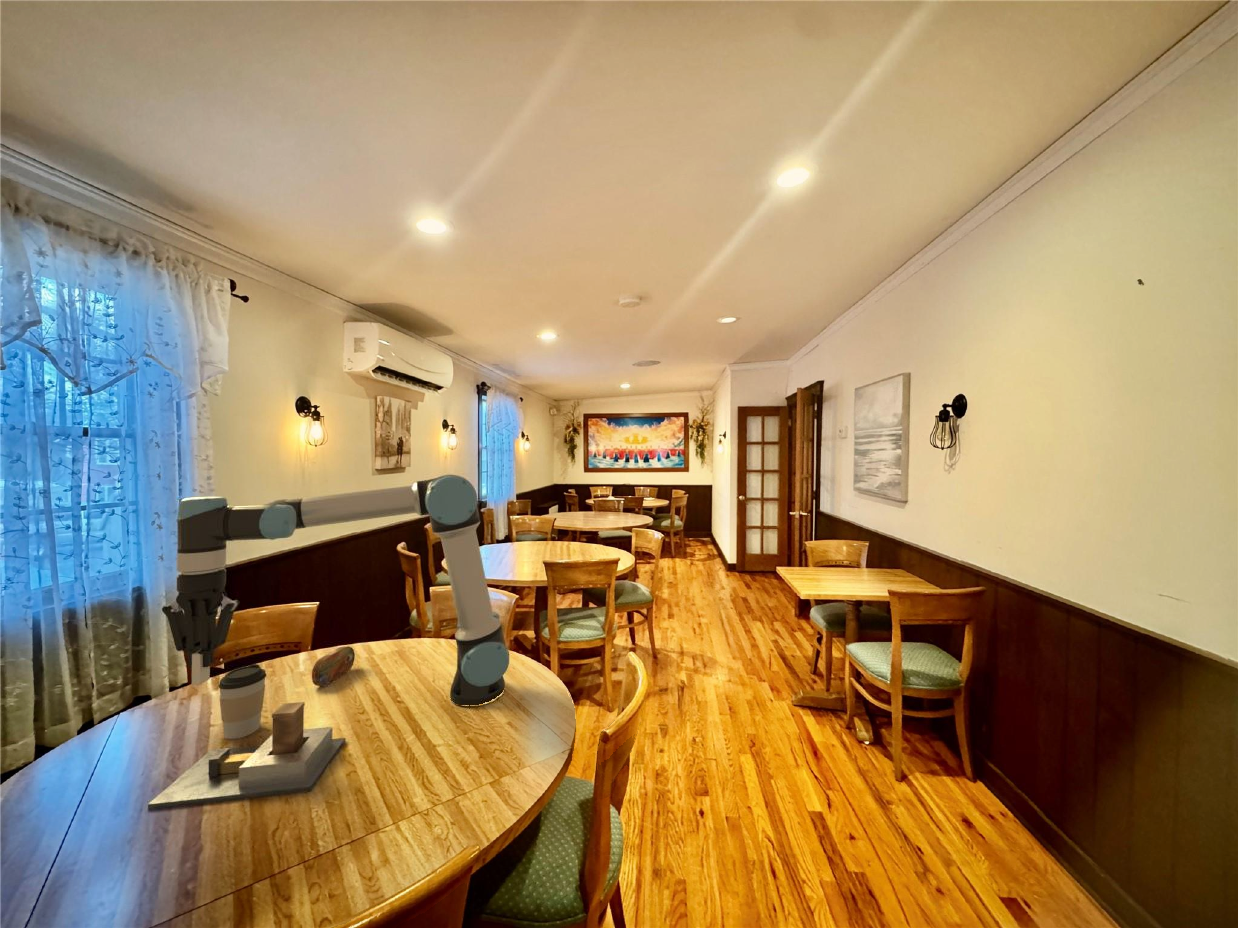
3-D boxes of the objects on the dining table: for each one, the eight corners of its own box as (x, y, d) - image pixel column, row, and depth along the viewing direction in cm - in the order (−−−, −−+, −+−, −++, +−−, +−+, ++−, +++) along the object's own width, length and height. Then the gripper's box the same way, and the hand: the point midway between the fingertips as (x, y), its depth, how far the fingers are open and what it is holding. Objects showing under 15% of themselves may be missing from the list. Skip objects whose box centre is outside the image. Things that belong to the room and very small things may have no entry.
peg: (303, 756, 97) (304, 701, 97) (293, 769, 93) (294, 712, 93) (282, 758, 96) (283, 703, 96) (271, 771, 92) (271, 714, 92)
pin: (276, 759, 96) (276, 743, 96) (266, 771, 92) (266, 754, 92) (220, 765, 94) (221, 748, 94) (208, 776, 90) (208, 759, 90)
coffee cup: (237, 744, 102) (238, 680, 103) (207, 739, 104) (208, 676, 104) (274, 722, 111) (275, 663, 111) (246, 717, 113) (247, 660, 113)
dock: (345, 741, 104) (345, 720, 104) (310, 791, 88) (310, 766, 88) (210, 754, 99) (210, 732, 99) (148, 809, 83) (148, 783, 83)
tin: (319, 691, 126) (319, 662, 127) (309, 691, 127) (309, 662, 127) (355, 667, 141) (355, 642, 142) (346, 667, 142) (346, 641, 142)
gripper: (248, 565, 97) (247, 671, 96) (180, 567, 94) (179, 675, 94) (224, 573, 89) (223, 688, 89) (150, 575, 87) (148, 693, 87)
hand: (200, 681), depth 92 cm, fingers closed
